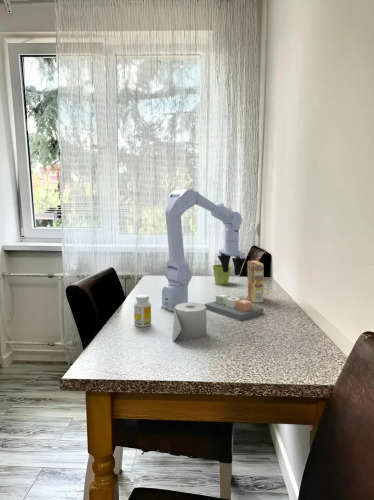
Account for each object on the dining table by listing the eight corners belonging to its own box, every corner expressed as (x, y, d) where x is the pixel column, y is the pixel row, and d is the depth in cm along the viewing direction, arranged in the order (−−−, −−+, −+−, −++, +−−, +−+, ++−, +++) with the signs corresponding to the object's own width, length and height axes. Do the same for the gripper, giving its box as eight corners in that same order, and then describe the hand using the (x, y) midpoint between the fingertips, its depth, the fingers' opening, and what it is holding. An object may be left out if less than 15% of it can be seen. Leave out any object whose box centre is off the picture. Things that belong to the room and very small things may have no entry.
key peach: (244, 312, 125) (244, 303, 124) (236, 309, 128) (236, 301, 127) (251, 310, 127) (252, 301, 127) (243, 307, 130) (243, 299, 130)
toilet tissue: (168, 344, 102) (167, 314, 101) (179, 327, 115) (179, 301, 113) (199, 346, 100) (199, 316, 98) (208, 330, 112) (208, 303, 111)
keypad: (240, 320, 121) (240, 315, 121) (204, 308, 135) (204, 303, 135) (263, 313, 129) (263, 308, 128) (227, 302, 142) (227, 298, 142)
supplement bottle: (134, 327, 115) (133, 298, 114) (134, 322, 120) (134, 294, 119) (151, 327, 115) (150, 297, 114) (151, 321, 121) (150, 293, 119)
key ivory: (233, 308, 129) (233, 300, 128) (225, 306, 132) (225, 298, 131) (240, 306, 131) (240, 298, 131) (233, 304, 134) (233, 296, 134)
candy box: (263, 302, 143) (264, 264, 141) (253, 302, 142) (254, 264, 140) (256, 296, 151) (257, 260, 149) (246, 296, 151) (247, 260, 149)
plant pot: (234, 282, 177) (234, 265, 176) (226, 286, 169) (226, 268, 168) (217, 280, 182) (217, 263, 181) (208, 284, 174) (208, 266, 173)
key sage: (223, 305, 133) (223, 297, 132) (215, 303, 136) (215, 295, 135) (230, 303, 135) (230, 295, 135) (223, 301, 138) (223, 293, 138)
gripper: (251, 241, 145) (250, 275, 147) (228, 238, 157) (227, 269, 159) (237, 242, 141) (237, 277, 143) (215, 239, 153) (215, 271, 155)
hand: (231, 273), depth 150 cm, fingers open, 7 cm apart
